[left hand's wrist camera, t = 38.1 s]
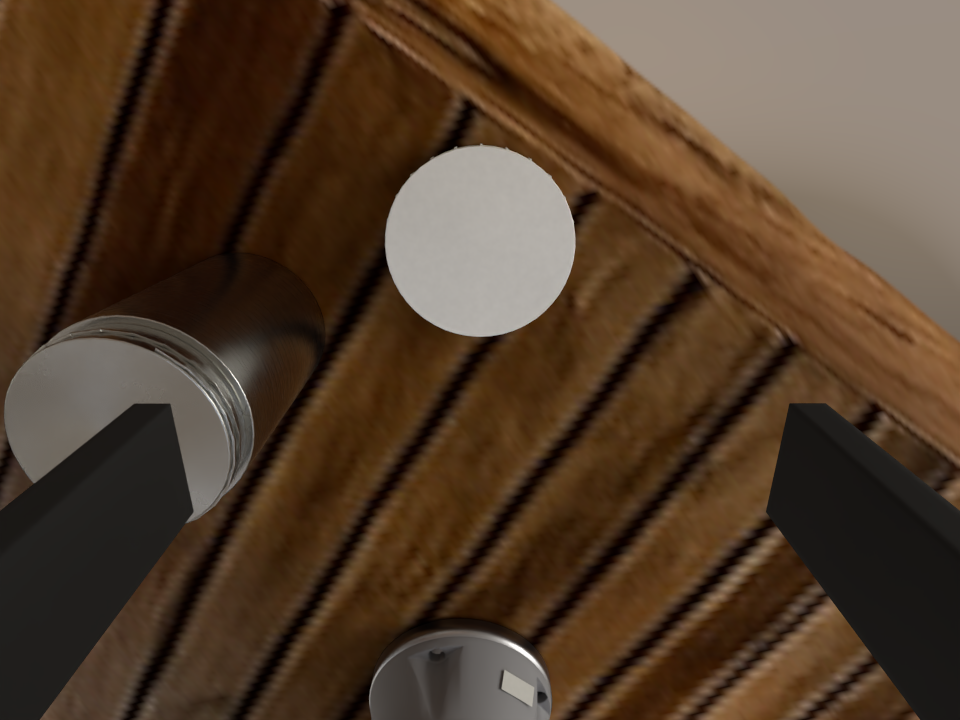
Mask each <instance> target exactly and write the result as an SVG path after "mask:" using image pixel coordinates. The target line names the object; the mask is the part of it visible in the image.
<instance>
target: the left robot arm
mask: <svg viewBox="0 0 960 720" xmlns="http://www.w3.org/2000/svg"><path fill="white" fill-rule="evenodd" d="M193 512H194V510H193V505H192V501H191V496H190V491H189V487H188V482H187V478H186V473H185V468H184V464H183V459H182V454H181V450H180V445H179V441H178V436H177V431H176V427H175V422H174V418H173V413H172V408H171V404H170V403H134V404H133V405H132V406H131V407H129V408H128V409H127V410H126V411H124V412H123V413H122V414H121V415H119V416H118V417H117V418H116V419H114V420H113V421H112V422H111V423H109V424H108V425H107V426H106V427H104V428H103V429H102V430H101V431H99V432H98V433H97V434H96V435H94V436H93V437H92V438H91V439H89V440H88V441H87V442H86V443H84V444H83V445H82V446H81V447H79V448H78V449H77V450H76V451H74V452H73V453H72V454H71V455H69V456H68V457H67V458H66V459H64V460H63V461H62V462H61V463H59V464H58V465H57V466H56V467H54V468H53V469H52V470H51V471H49V472H48V473H47V474H46V475H44V476H43V477H42V478H41V479H39V480H38V481H37V482H36V483H34V484H33V485H32V486H31V487H29V488H28V489H27V490H26V491H24V492H23V493H22V494H21V495H19V496H18V497H17V498H16V499H14V500H13V501H12V502H11V503H9V504H8V505H7V506H6V507H4V508H3V509H2V510H1V511H0V720H40V718H41V717H42V716H43V714H44V713H45V712H46V710H47V709H48V708H49V706H50V705H51V704H52V702H53V701H54V700H55V698H56V697H57V696H58V694H59V693H60V692H61V690H62V689H63V688H64V686H65V685H66V683H67V682H68V681H69V679H70V678H71V677H72V675H73V674H74V673H75V671H76V670H77V669H78V667H79V666H80V665H81V663H82V662H83V661H84V659H85V658H86V657H87V655H88V654H89V652H90V651H91V650H92V648H93V647H94V646H95V644H96V643H97V642H98V640H99V639H100V638H101V636H102V635H103V634H104V632H105V631H106V630H107V628H108V627H109V626H110V624H111V623H112V622H113V620H114V619H115V617H116V616H117V615H118V613H119V612H120V611H121V609H122V608H123V607H124V605H125V604H126V603H127V601H128V600H129V599H130V597H131V596H132V595H133V593H134V592H135V591H136V589H137V588H138V586H139V585H140V584H141V582H142V581H143V580H144V578H145V577H146V576H147V574H148V573H149V572H150V570H151V569H152V568H153V566H154V565H155V564H156V562H157V561H158V560H159V558H160V557H161V556H162V554H163V553H164V551H165V550H166V549H167V547H168V546H169V545H170V543H171V542H172V541H173V539H174V538H175V537H176V535H177V534H178V533H179V531H180V530H181V529H182V527H183V526H184V525H185V523H186V522H187V521H188V519H189V518H190V516H191V515H192V514H193ZM766 512H767V514H768V515H769V516H770V518H771V519H772V521H773V522H774V523H775V525H776V526H777V527H778V529H779V530H780V531H781V533H782V534H783V535H784V537H785V538H786V539H787V541H788V542H789V543H790V545H791V546H792V547H793V549H794V550H795V551H796V553H797V554H798V556H799V557H800V558H801V560H802V561H803V562H804V564H805V565H806V566H807V568H808V569H809V570H810V572H811V573H812V574H813V576H814V577H815V578H816V580H817V581H818V582H819V584H820V585H821V586H822V588H823V589H824V591H825V592H826V593H827V595H828V596H829V597H830V599H831V600H832V601H833V603H834V604H835V605H836V607H837V608H838V609H839V611H840V612H841V613H842V615H843V616H844V617H845V619H846V620H847V622H848V623H849V624H850V626H851V627H852V628H853V630H854V631H855V632H856V634H857V635H858V636H859V638H860V639H861V640H862V642H863V643H864V644H865V646H866V647H867V648H868V650H869V651H870V652H871V654H872V655H873V657H874V658H875V659H876V661H877V662H878V663H879V665H880V666H881V667H882V669H883V670H884V671H885V673H886V674H887V675H888V677H889V678H890V679H891V681H892V682H893V683H894V685H895V686H896V688H897V689H898V690H899V692H900V693H901V694H902V696H903V697H904V698H905V700H906V701H907V702H908V704H909V705H910V706H911V708H912V709H913V710H914V712H915V713H916V714H917V716H918V717H919V718H920V720H960V511H959V510H958V509H957V508H956V507H954V506H953V505H952V504H951V503H949V502H948V501H947V500H946V499H944V498H943V497H942V496H941V495H939V494H938V493H937V492H936V491H934V490H933V489H932V488H931V487H929V486H928V485H927V484H926V483H924V482H923V481H922V480H921V479H919V478H918V477H917V476H916V475H914V474H913V473H912V472H911V471H909V470H908V469H907V468H906V467H904V466H903V465H902V464H901V463H899V462H898V461H897V460H896V459H894V458H893V457H892V456H891V455H889V454H888V453H887V452H886V451H884V450H883V449H882V448H881V447H879V446H878V445H877V444H876V443H874V442H873V441H872V440H871V439H869V438H868V437H867V436H866V435H864V434H863V433H862V432H861V431H859V430H858V429H857V428H856V427H854V426H853V425H852V424H851V423H849V422H848V421H847V420H846V419H844V418H843V417H842V416H841V415H839V414H838V413H837V412H836V411H834V410H833V409H832V408H831V407H829V406H828V405H827V404H826V403H790V404H789V408H788V413H787V418H786V422H785V427H784V431H783V436H782V441H781V445H780V450H779V454H778V459H777V464H776V468H775V473H774V477H773V482H772V487H771V491H770V496H769V501H768V505H767V510H766ZM369 705H370V712H371V718H372V720H549V718H550V714H551V709H552V694H551V686H550V678H549V673H548V669H547V666H546V664H545V662H544V660H543V658H542V656H541V655H540V653H539V652H538V651H537V650H536V648H535V647H534V646H533V645H532V644H531V643H529V642H528V641H527V640H526V639H525V638H523V637H522V636H520V635H519V634H517V633H515V632H514V631H512V630H510V629H508V628H505V627H503V626H500V625H497V624H494V623H491V622H486V621H482V620H475V619H446V620H439V621H434V622H430V623H426V624H423V625H420V626H418V627H415V628H413V629H411V630H409V631H407V632H405V633H404V634H402V635H401V636H399V637H398V638H396V639H395V640H394V641H393V642H392V643H391V644H390V645H389V646H388V647H387V648H386V649H385V650H384V651H383V653H382V654H381V656H380V658H379V659H378V661H377V664H376V666H375V669H374V673H373V678H372V683H371V689H370V695H369Z"/></svg>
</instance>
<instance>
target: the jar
mask: <svg viewBox="0 0 960 720" xmlns="http://www.w3.org/2000/svg"><path fill="white" fill-rule="evenodd" d="M324 344H325V327H324V321H323V317H322V314H321V310H320V308H319V306H318V304H317V301H316V299H315V298H314V296H313V295H312V293H311V291H310V290H309V289H308V288H307V286H306V285H305V284H304V283H303V282H302V281H301V280H300V279H299V278H298V277H297V276H296V275H295V274H294V273H292V272H291V271H290V270H288V269H287V268H285V267H284V266H282V265H280V264H279V263H277V262H275V261H272V260H270V259H268V258H265V257H262V256H259V255H254V254H248V253H226V254H221V255H217V256H214V257H211V258H208V259H206V260H204V261H202V262H200V263H198V264H196V265H194V266H192V267H190V268H188V269H185V270H183V271H181V272H179V273H177V274H175V275H173V276H171V277H169V278H167V279H165V280H163V281H161V282H159V283H157V284H155V285H153V286H150V287H148V288H146V289H144V290H142V291H140V292H138V293H136V294H134V295H132V296H130V297H128V298H126V299H124V300H122V301H120V302H117V303H115V304H113V305H111V306H109V307H107V308H105V309H103V310H101V311H99V312H97V313H95V314H93V315H91V316H89V317H87V318H85V319H82V320H80V321H78V322H76V323H74V324H72V325H70V326H69V327H67V328H65V329H63V330H61V331H60V332H59V333H58V334H56V335H55V336H54V337H52V338H51V339H50V340H49V341H48V343H46V344H44V345H43V346H42V347H41V348H39V349H38V350H37V351H36V352H35V353H34V354H33V355H32V356H31V357H30V358H29V359H28V360H27V361H25V362H24V363H23V365H22V366H21V367H20V368H19V369H18V371H17V373H16V374H15V376H14V377H13V379H12V381H11V383H10V386H9V388H8V391H7V394H6V399H5V403H4V423H5V430H6V434H7V438H8V441H9V444H10V446H11V449H12V451H13V454H14V456H15V457H16V459H17V461H18V463H19V464H20V466H21V468H22V469H23V470H24V472H25V473H26V475H27V476H28V477H29V479H30V480H31V481H32V482H33V483H36V482H37V481H38V480H39V479H41V478H42V477H43V476H44V475H46V474H47V473H48V472H49V471H51V470H52V469H53V468H54V467H56V466H57V465H58V464H59V463H61V462H62V461H63V460H64V459H66V458H67V457H68V456H69V455H71V454H72V453H73V452H74V451H76V450H77V449H78V448H79V447H81V446H82V445H83V444H84V443H86V442H87V441H88V440H89V439H91V438H92V437H93V436H94V435H96V434H97V433H98V432H99V431H101V430H102V429H103V428H104V427H106V426H107V425H108V424H109V423H111V422H112V421H113V420H114V419H116V418H117V417H118V416H119V415H121V414H122V413H123V412H124V411H126V410H127V409H128V408H129V407H131V406H132V405H133V404H134V403H170V404H171V408H172V413H173V418H174V422H175V427H176V431H177V436H178V441H179V445H180V450H181V454H182V459H183V464H184V468H185V473H186V478H187V482H188V487H189V491H190V496H191V501H192V505H193V510H194V512H193V514H192V515H191V516H190V518H189V519H188V521H187V522H186V523H188V522H191V521H193V520H197V519H198V518H199V517H201V516H202V515H203V514H205V513H206V512H207V511H209V510H210V509H211V508H213V507H214V506H216V505H217V503H218V501H219V500H220V499H221V497H222V496H224V495H225V494H226V493H228V492H229V491H230V490H231V489H232V488H233V487H234V486H235V485H236V484H237V483H238V481H239V480H240V479H241V478H242V476H243V475H244V473H245V472H246V470H247V469H248V467H249V466H250V464H251V463H252V462H253V460H254V459H255V457H256V456H257V454H258V453H259V451H260V450H261V448H262V447H263V445H264V444H265V442H266V441H267V439H268V438H269V437H270V435H271V434H272V432H273V431H274V429H275V428H276V426H277V425H278V423H279V422H280V420H281V419H282V417H283V416H284V414H285V413H286V411H287V410H288V409H289V407H290V406H291V404H292V403H293V401H294V400H295V398H296V397H297V395H298V394H299V392H300V391H301V389H302V388H303V386H304V385H305V384H306V382H307V381H308V379H309V378H310V376H311V375H312V373H313V372H314V370H315V369H316V367H317V365H318V364H319V361H320V359H321V356H322V353H323V349H324Z"/></svg>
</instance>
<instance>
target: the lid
mask: <svg viewBox="0 0 960 720" xmlns="http://www.w3.org/2000/svg"><path fill="white" fill-rule="evenodd" d="M430 159H431V160H430V161H428V162H427V163H426V164H424V165H423V166H421V167H420V168H419V169H418V170H417V171H416V172H415V173H414V172H413V173H412V174H410V178H409V179H408V180H407V181H406V182H405V184H404V185H403V186H402V188H401V189H400V191H399V193H398V194H396V196H395V197H396V198H395V200H394V202H393V205H392V207H391V209H390V213H389V216H388V218H387V225H386V232H385V250H386V258H387V262H388V266H389V270H390V273H391V276H392V278H393V281H394V283H395V285H396V286H397V288H398V290H399V292H400V293H401V295H402V296H403V298H404V299H405V300H406V302H407V303H408V304H409V305H410V306H411V307H412V308H413V309H414V310H415V311H416V312H417V313H418V314H419V315H421V316H422V317H423V318H424V319H426V320H427V321H429V322H430V323H432V324H434V325H436V326H438V327H440V328H442V329H444V330H447V331H450V332H453V333H456V334H461V335H466V336H476V337H483V336H494V335H500V334H504V333H507V332H511V331H514V330H516V329H518V328H520V327H523V326H525V325H526V324H528V323H530V322H531V321H533V320H535V319H536V318H537V317H538V316H540V315H541V314H542V313H543V312H544V311H545V310H546V309H547V308H548V307H549V306H550V305H551V304H552V303H553V302H554V301H555V299H556V298H557V297H558V295H559V294H560V292H561V290H562V289H563V287H564V285H565V283H566V281H567V279H568V276H569V274H570V271H571V267H572V263H573V259H574V252H575V231H574V221H573V219H572V216H571V212H570V209H569V207H568V204H567V202H566V197H565V196H564V195H563V194H562V192H561V191H560V189H559V187H558V186H557V185H556V184H555V182H554V181H553V180H552V178H551V177H552V176H551V175H549V174H547V173H546V172H545V171H544V170H543V169H541V168H540V167H539V166H537V165H536V164H535V163H533V162H532V159H530V158H529V157H528V159H527V158H526V157H524V156H522V155H520V154H518V153H516V152H513V151H511V150H508V148H507V147H505V148H500V147H496V146H488V145H482V144H480V145H472V146H465V147H460V148H457V147H455V148H454V149H453V150H450V151H447V152H444V153H442V154H440V155H438V156H436V157H434V156H433V157H432V158H430Z"/></svg>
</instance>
